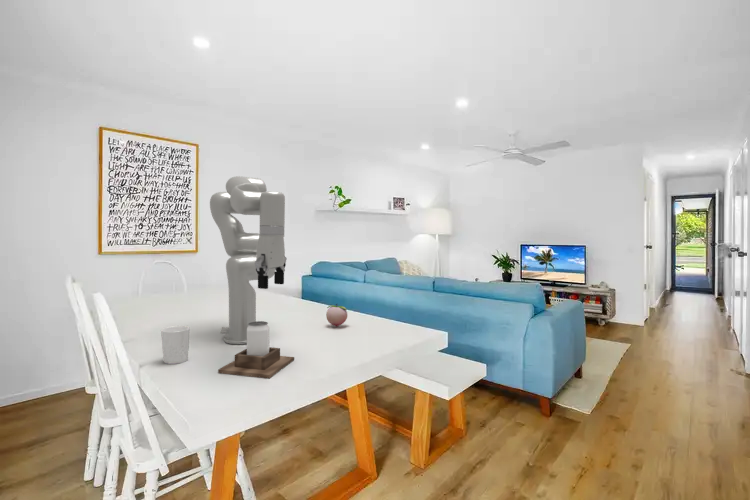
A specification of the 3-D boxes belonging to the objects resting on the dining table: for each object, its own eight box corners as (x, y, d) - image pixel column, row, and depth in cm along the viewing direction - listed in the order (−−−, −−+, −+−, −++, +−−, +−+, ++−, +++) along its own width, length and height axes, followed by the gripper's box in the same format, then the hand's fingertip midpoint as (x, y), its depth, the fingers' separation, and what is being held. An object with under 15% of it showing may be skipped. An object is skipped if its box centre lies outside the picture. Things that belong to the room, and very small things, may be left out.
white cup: (170, 366, 116) (170, 333, 115) (156, 361, 120) (155, 329, 119) (195, 359, 122) (195, 328, 122) (180, 355, 127) (180, 324, 126)
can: (262, 367, 113) (262, 326, 113) (242, 365, 115) (242, 325, 114) (272, 360, 120) (273, 321, 119) (253, 358, 121) (253, 320, 120)
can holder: (218, 373, 111) (218, 357, 111) (248, 355, 127) (248, 342, 126) (269, 378, 107) (269, 362, 107) (294, 360, 123) (294, 346, 123)
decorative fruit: (323, 328, 164) (323, 304, 163) (328, 324, 172) (328, 301, 171) (344, 329, 162) (345, 306, 162) (349, 325, 170) (349, 302, 170)
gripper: (275, 231, 131) (274, 281, 132) (245, 231, 114) (244, 289, 115) (295, 231, 129) (294, 283, 130) (268, 232, 112) (267, 291, 113)
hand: (271, 286), depth 122 cm, fingers open, 9 cm apart
